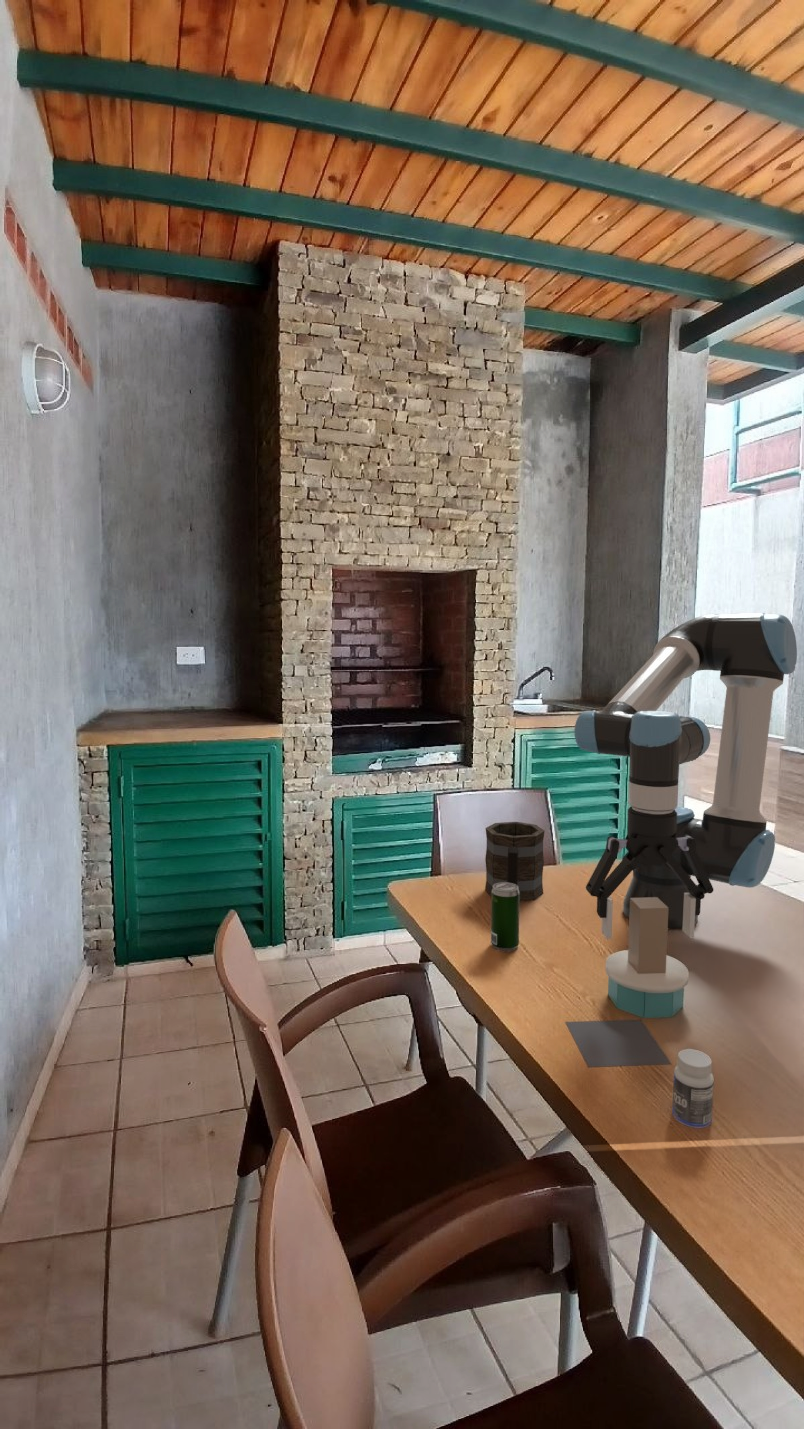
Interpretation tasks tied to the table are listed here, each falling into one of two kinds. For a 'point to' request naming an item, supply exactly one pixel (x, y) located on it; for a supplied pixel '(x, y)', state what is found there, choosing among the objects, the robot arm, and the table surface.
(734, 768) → the robot arm
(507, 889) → the beer can
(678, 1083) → the pill bottle
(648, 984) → the lid
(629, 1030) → the mat
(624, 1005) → the bowl
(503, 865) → the mug
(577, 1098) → the table surface
